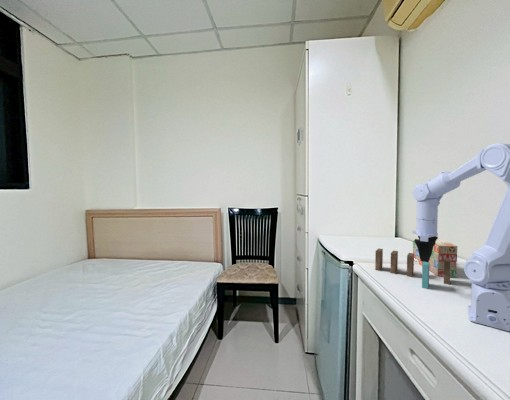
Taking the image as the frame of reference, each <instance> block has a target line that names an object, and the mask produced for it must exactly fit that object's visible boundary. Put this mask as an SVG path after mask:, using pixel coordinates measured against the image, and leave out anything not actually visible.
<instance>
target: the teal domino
mask: <svg viewBox="0 0 510 400" xmlns="http://www.w3.org/2000/svg"><path fill="white" fill-rule="evenodd" d="M429 264H430V262H423V264H422V266H421V267H422V269H421V271H422V272H421V288H422V289H426V290H428V289H429V287H430V286H429V285H430V271H429Z"/></svg>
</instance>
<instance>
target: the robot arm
mask: <svg viewBox="0 0 510 400" xmlns="http://www.w3.org/2000/svg"><path fill="white" fill-rule="evenodd" d="M485 171H488V172H489V173H491V174H493V176H496V177H498V178H499V179H500V180H502V181H503V182H504V183H505V185H506V187H507V188H506V191H505V193H504V196H503V198H502V200H501V204H500V206H499V208H498V210H497V213H496V215H495V218H494V221H493V223H492V226H491V228H490V230H489V233H488V235H487V238H486V241H485V243H484V245H483V246H481V247H479V248H478V249H476V250H475V251H473V252H472V254H471V256H470V257H469V259H466V261H465V262H464V264H463V272H464V273H465V275H466V277H467V279H468V280H469V282H470V283H471V288H470V289H471V290H470V291H471V294H470V295H471V296H470V304H469V305H468V306H467V308H468V309H467V310H468V320H469V321H470V322H473V323H476V324H480V325H484V326H488V327H490V328H495V329H498V330H502V331H506V332H510V143H501V142H499V143H498V142H497V143H492V144H489V145H488V146H486V147H485V148H484V149H481V150H479V151H478V152H477V154H476V155H475V156H474V157H473V158H471V159H470V160H469V161H467V162H465V163H463V164H461V166H459V167H458V168H456V169H455V170H453V171H440V172H439V173H438V175H437V176H436V177H434V178H432V179H429V180H427V182H425V183H417V184H416V185H415V186H414V188H413V189H412V196H413V198H414V199H415V201H416V229H415V230H412V232H411V233H412V234H416V235H417V237H418V239H417V238H415V239H414V240H413V241H414V242H415V244H416V246H417V248H418V251H419V256H420V260H421V261H423V262H429V259H430V257H431V255H432V251H433V246H434V245H435V243H436V240H437V239H439V237H438V235H439V232H438V217H439V216H438V215H439V214H438V212H439V210H438V209H439V208H438V207H439V205H441V203H440V202H441V199H442V198H443V196H444V195H445V194H447V193H450V192H451V191H454V190H455V189H457V188H459V187H460V185H461V182H462V181H464V180H467V179H469V178H471V177H474V176H476V175H478V174H481V173H483V172H485Z"/></svg>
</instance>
